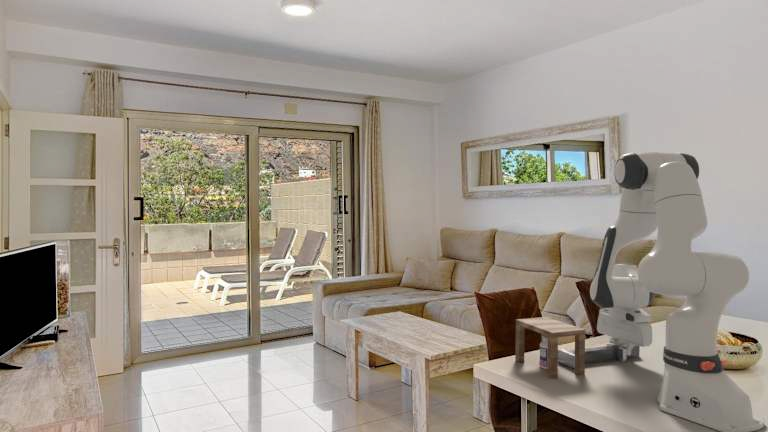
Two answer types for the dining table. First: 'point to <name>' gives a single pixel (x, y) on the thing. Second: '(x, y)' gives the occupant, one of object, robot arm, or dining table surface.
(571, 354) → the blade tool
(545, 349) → the pill bottle
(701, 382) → the robot arm
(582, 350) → the low table
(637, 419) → the dining table surface
